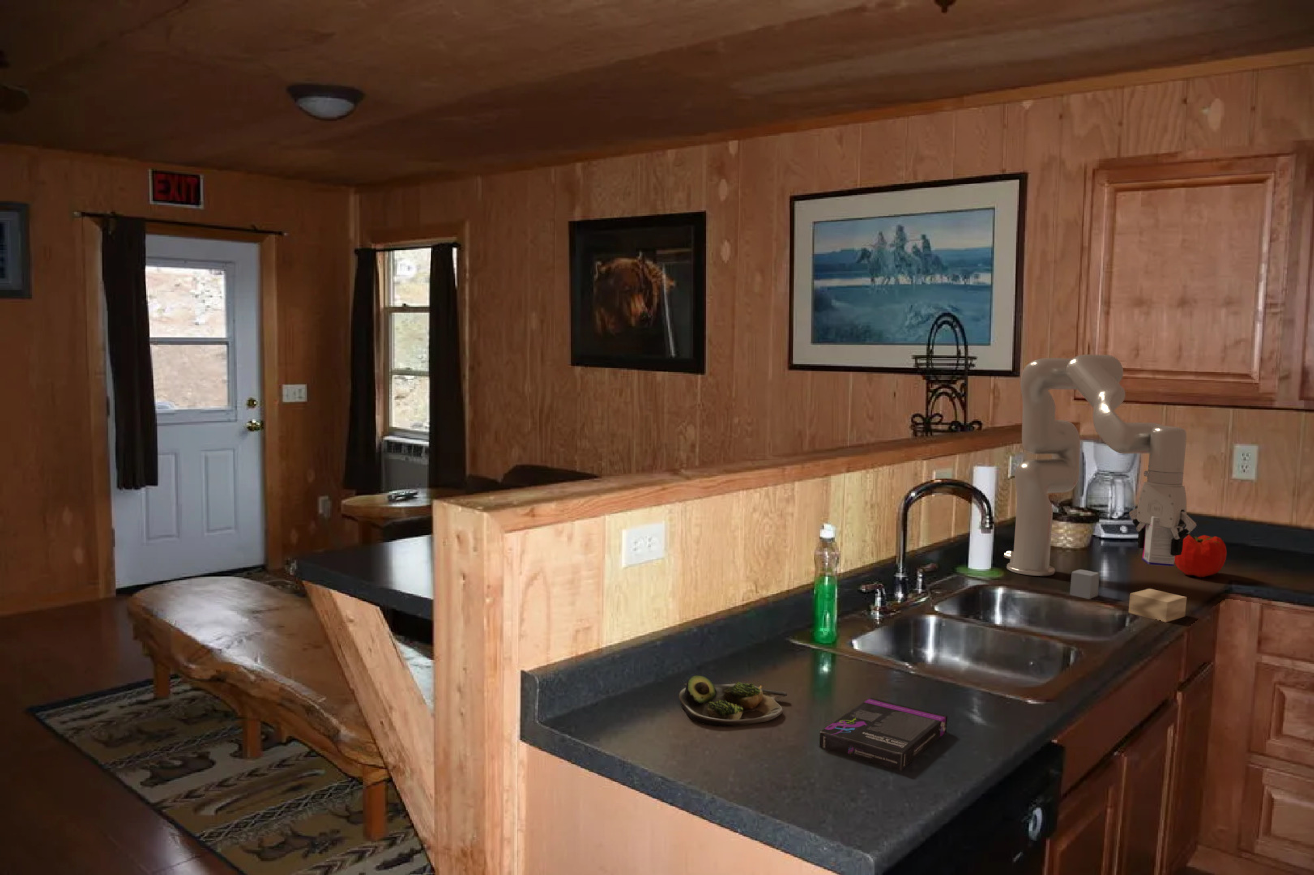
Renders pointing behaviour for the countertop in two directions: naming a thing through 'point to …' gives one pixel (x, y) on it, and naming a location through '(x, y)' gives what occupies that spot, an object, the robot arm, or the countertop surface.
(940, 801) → the countertop surface
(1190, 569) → the tomato
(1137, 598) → the maple block
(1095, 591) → the slate block
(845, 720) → the box
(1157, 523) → the supplement box
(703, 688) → the avocado toast plate
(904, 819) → the countertop surface
